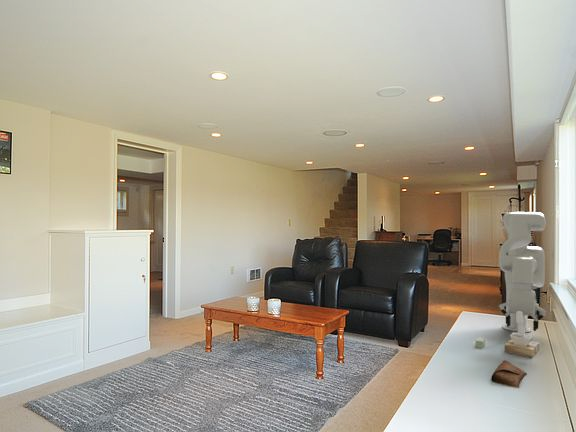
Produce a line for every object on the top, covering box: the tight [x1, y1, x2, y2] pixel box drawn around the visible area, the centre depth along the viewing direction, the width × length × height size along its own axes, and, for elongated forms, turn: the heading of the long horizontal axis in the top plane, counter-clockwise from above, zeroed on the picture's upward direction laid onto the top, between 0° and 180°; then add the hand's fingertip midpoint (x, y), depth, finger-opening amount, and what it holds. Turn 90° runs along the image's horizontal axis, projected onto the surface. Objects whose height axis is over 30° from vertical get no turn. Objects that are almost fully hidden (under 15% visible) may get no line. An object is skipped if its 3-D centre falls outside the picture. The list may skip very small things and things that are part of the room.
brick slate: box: [529, 340, 541, 351], centre depth 172 cm, size 6×3×3 cm, turn 39°
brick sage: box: [474, 337, 486, 349], centre depth 174 cm, size 6×3×3 cm, turn 148°
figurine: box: [509, 311, 534, 346], centre depth 167 cm, size 7×9×15 cm
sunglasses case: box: [490, 359, 528, 389], centre depth 138 cm, size 18×7×7 cm, turn 143°
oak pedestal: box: [504, 339, 539, 359], centre depth 167 cm, size 11×10×3 cm
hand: (521, 328), depth 167 cm, fingers open, 9 cm apart
